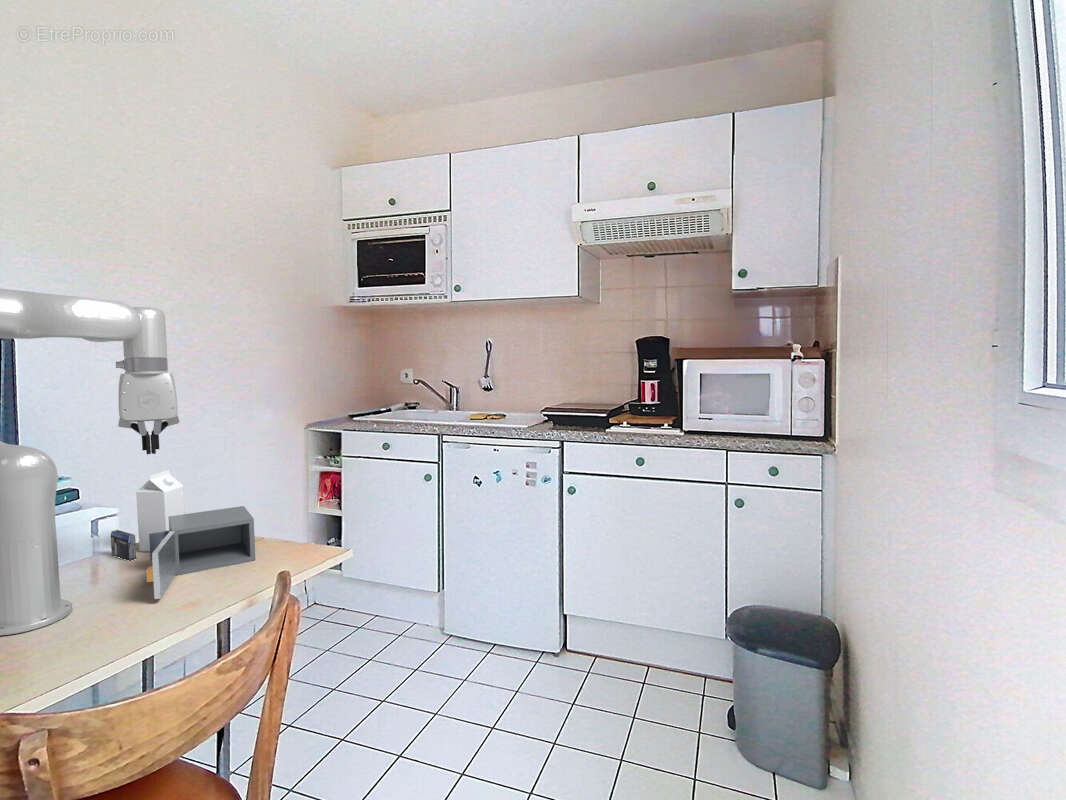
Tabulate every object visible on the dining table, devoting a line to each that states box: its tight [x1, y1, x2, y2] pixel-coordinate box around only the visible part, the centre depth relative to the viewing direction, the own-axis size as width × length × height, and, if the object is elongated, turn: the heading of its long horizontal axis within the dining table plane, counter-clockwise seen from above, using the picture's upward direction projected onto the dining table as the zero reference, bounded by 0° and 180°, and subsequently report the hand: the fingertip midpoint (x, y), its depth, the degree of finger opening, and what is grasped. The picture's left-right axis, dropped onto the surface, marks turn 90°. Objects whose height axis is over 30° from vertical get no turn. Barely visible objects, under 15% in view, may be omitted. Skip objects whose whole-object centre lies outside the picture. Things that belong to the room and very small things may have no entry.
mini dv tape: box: [110, 529, 137, 562], centre depth 134 cm, size 8×2×6 cm, turn 60°
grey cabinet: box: [149, 505, 256, 577], centre depth 131 cm, size 20×14×10 cm
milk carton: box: [136, 469, 186, 553], centre depth 141 cm, size 7×7×19 cm
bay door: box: [146, 531, 177, 600], centre depth 114 cm, size 15×2×9 cm, turn 22°
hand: (151, 453), depth 120 cm, fingers closed
